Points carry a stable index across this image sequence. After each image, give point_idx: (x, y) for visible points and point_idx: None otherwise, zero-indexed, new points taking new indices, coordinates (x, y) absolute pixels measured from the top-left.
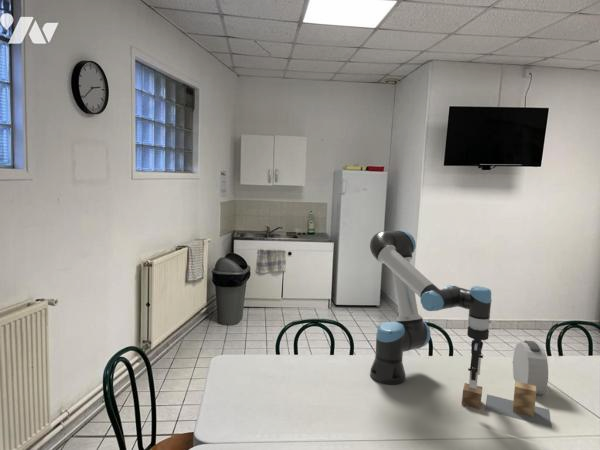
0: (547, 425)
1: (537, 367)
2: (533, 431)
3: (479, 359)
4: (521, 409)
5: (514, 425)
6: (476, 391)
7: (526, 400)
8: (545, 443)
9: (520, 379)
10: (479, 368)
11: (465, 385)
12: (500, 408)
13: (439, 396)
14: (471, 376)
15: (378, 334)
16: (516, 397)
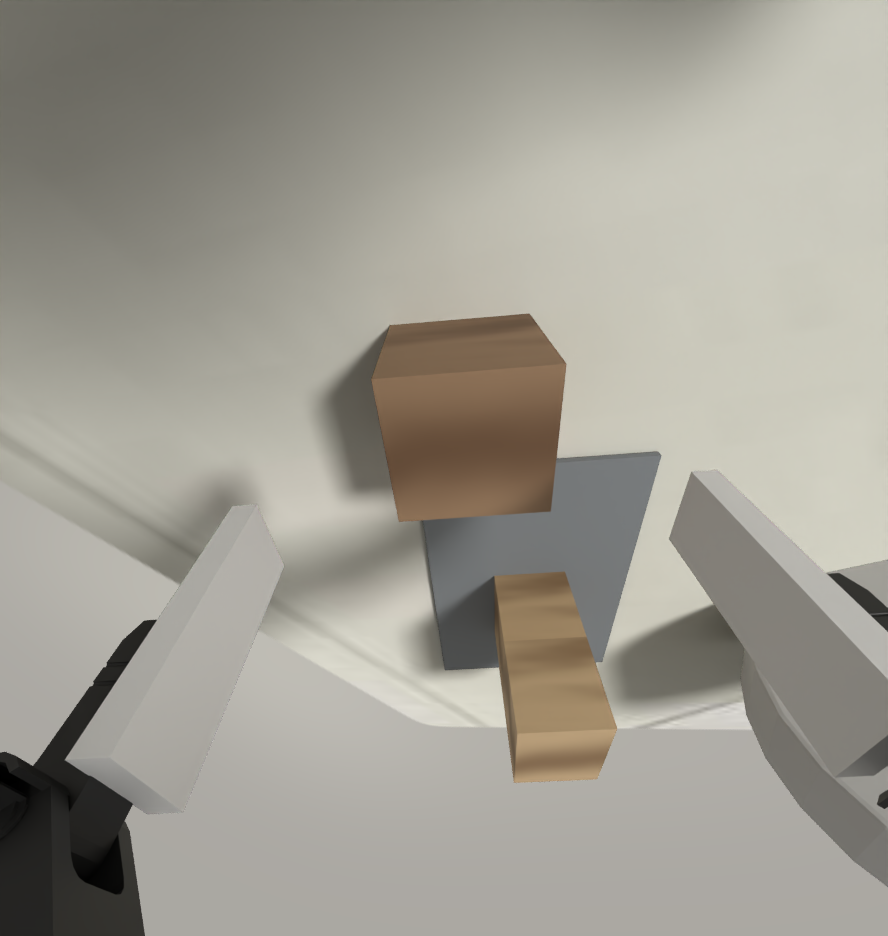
0: (451, 662)
1: (850, 827)
2: (373, 632)
3: (840, 758)
4: (497, 620)
5: (366, 585)
6: (423, 487)
7: (504, 686)
8: (313, 657)
9: None
10: (719, 603)
11: (497, 381)
12: (494, 533)
13: (423, 56)
14: (94, 680)
15: None
16: (505, 662)
